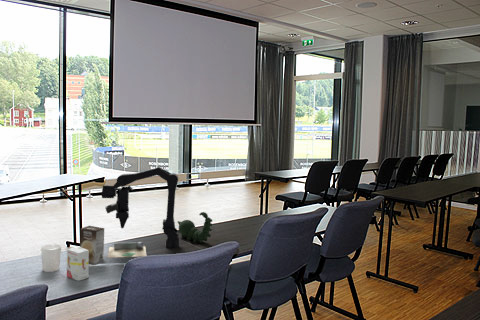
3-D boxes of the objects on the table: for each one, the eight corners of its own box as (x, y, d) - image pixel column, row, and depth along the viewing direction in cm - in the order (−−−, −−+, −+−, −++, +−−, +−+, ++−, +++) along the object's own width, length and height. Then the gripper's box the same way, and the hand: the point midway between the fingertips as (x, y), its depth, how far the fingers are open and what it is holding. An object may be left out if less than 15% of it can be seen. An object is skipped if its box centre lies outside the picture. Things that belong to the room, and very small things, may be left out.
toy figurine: (213, 246, 230) (182, 233, 245) (217, 213, 228) (185, 203, 242) (201, 249, 222) (170, 236, 237) (205, 215, 220) (173, 205, 235)
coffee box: (78, 262, 188) (79, 228, 187) (88, 258, 194) (88, 225, 193) (95, 265, 185) (95, 230, 184) (104, 261, 191) (105, 227, 190)
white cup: (53, 273, 173) (53, 250, 172) (36, 271, 174) (37, 248, 174) (64, 267, 180) (65, 245, 180) (48, 265, 182) (49, 243, 181)
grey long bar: (143, 247, 212) (143, 241, 211) (143, 249, 208) (143, 243, 208) (114, 248, 208) (114, 242, 208) (114, 250, 204) (114, 244, 204)
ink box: (65, 276, 170) (66, 248, 170) (76, 273, 174) (77, 246, 174) (78, 281, 166) (78, 252, 165) (88, 278, 170) (89, 250, 169)
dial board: (145, 248, 215) (145, 245, 215) (146, 258, 198) (146, 255, 198) (109, 249, 210) (109, 246, 210) (107, 259, 194) (107, 257, 194)
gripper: (107, 195, 218) (106, 224, 219) (105, 202, 200) (104, 233, 201) (129, 195, 221) (128, 224, 222) (129, 201, 203) (128, 232, 204)
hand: (122, 228), depth 212 cm, fingers closed
